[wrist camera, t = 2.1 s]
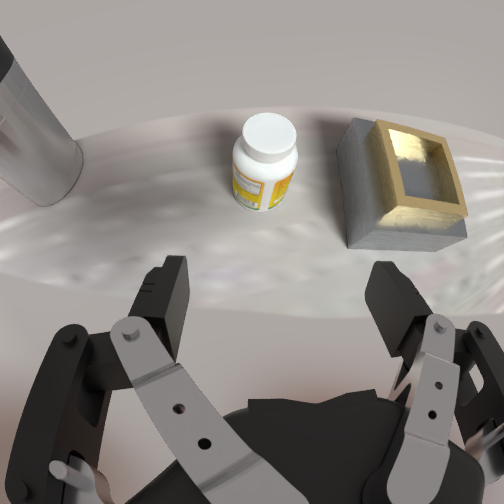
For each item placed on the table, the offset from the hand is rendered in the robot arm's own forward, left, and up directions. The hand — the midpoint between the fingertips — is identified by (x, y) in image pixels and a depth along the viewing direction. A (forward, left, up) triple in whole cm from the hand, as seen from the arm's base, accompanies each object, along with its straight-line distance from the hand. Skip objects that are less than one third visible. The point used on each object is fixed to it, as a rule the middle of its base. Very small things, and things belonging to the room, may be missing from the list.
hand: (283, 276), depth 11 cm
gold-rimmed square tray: (+15, +11, -14) cm, 24 cm away
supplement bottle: (0, +11, -15) cm, 18 cm away
